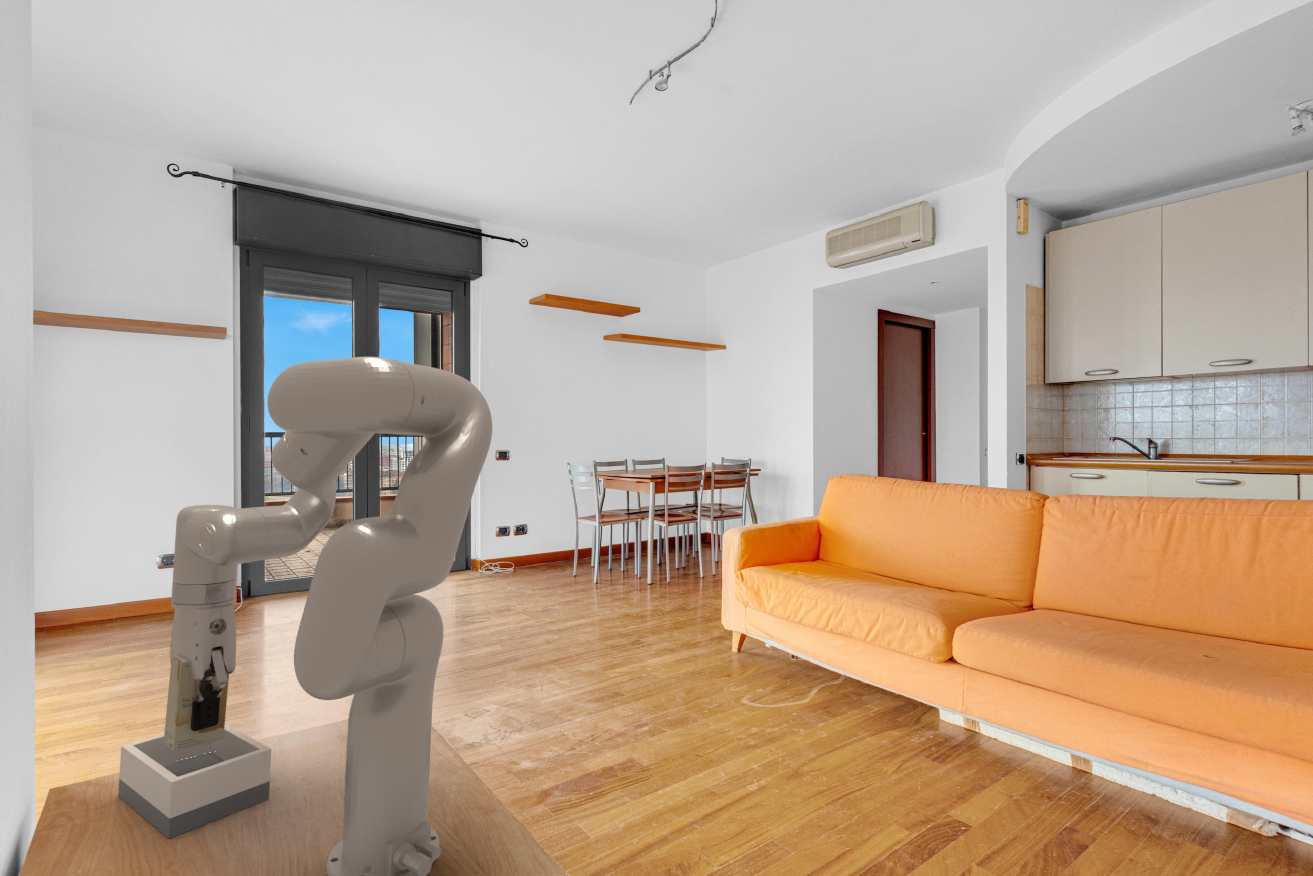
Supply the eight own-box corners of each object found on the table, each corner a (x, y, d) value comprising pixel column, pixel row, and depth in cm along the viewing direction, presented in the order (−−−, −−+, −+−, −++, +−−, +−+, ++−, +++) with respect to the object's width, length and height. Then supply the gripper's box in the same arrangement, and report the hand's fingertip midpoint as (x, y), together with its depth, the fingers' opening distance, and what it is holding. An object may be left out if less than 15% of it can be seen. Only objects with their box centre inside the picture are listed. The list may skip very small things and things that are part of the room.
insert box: (268, 799, 91) (271, 748, 92) (168, 839, 81) (171, 782, 82) (214, 764, 101) (216, 719, 101) (118, 796, 91) (121, 746, 91)
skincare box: (173, 753, 88) (179, 662, 88) (162, 744, 90) (168, 655, 91) (226, 738, 93) (232, 652, 93) (215, 729, 95) (220, 646, 96)
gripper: (261, 598, 91) (253, 730, 90) (207, 580, 100) (200, 700, 99) (200, 607, 84) (191, 749, 84) (149, 587, 94) (140, 715, 93)
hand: (196, 721), depth 92 cm, fingers closed on skincare box, 4 cm apart
